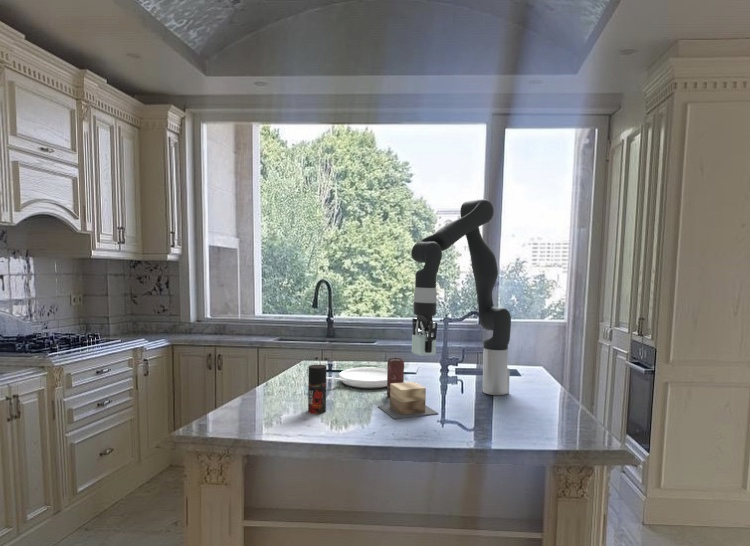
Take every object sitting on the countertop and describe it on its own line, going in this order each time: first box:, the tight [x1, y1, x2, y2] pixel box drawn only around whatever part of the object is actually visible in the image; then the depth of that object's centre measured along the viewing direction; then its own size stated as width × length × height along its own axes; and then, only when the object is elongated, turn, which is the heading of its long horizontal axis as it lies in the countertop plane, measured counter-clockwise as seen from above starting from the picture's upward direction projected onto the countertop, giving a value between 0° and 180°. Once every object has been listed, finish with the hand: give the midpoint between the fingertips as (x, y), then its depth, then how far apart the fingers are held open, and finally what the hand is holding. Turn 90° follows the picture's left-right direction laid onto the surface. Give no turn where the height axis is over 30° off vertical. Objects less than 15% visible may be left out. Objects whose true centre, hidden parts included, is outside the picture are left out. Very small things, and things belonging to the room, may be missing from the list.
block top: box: [390, 381, 427, 402], centre depth 161 cm, size 9×9×4 cm
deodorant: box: [307, 364, 327, 415], centre depth 159 cm, size 6×6×15 cm
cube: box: [411, 334, 437, 357], centre depth 160 cm, size 6×6×6 cm
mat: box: [377, 404, 439, 420], centre depth 161 cm, size 16×14×1 cm
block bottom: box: [389, 395, 427, 415], centre depth 161 cm, size 9×9×4 cm
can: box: [386, 357, 405, 399], centre depth 178 cm, size 6×6×14 cm
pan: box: [326, 366, 387, 390], centre depth 195 cm, size 25×38×5 cm, turn 124°
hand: (423, 350), depth 161 cm, fingers closed on cube, 6 cm apart
